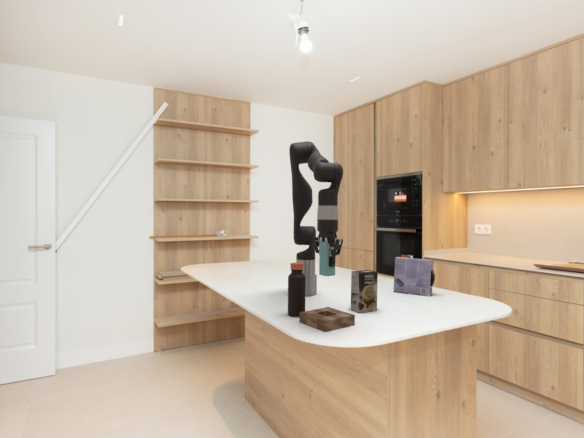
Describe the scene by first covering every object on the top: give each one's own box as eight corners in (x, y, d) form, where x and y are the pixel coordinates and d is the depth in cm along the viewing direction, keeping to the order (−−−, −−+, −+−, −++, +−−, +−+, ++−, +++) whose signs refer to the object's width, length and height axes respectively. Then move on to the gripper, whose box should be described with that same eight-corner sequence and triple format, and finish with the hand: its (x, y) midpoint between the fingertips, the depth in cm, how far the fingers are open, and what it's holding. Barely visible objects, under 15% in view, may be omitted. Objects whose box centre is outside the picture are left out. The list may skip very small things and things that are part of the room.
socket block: (328, 315, 144) (328, 306, 144) (354, 324, 133) (354, 314, 133) (299, 321, 136) (299, 312, 136) (325, 331, 125) (325, 321, 125)
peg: (327, 273, 137) (327, 241, 137) (335, 275, 134) (335, 241, 134) (319, 274, 135) (319, 241, 134) (326, 276, 131) (327, 242, 131)
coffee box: (359, 313, 148) (360, 272, 148) (350, 309, 154) (350, 270, 154) (377, 310, 153) (378, 271, 152) (367, 307, 158) (368, 269, 158)
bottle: (299, 318, 141) (299, 265, 141) (284, 315, 145) (284, 263, 144) (308, 314, 147) (308, 263, 146) (293, 311, 150) (294, 261, 150)
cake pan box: (434, 295, 184) (435, 259, 184) (432, 296, 180) (433, 260, 179) (396, 290, 194) (396, 256, 194) (393, 292, 190) (393, 257, 190)
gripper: (349, 218, 131) (348, 267, 131) (322, 218, 142) (322, 263, 142) (333, 218, 126) (333, 269, 126) (307, 218, 137) (306, 264, 138)
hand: (327, 266), depth 134 cm, fingers closed on peg, 4 cm apart
